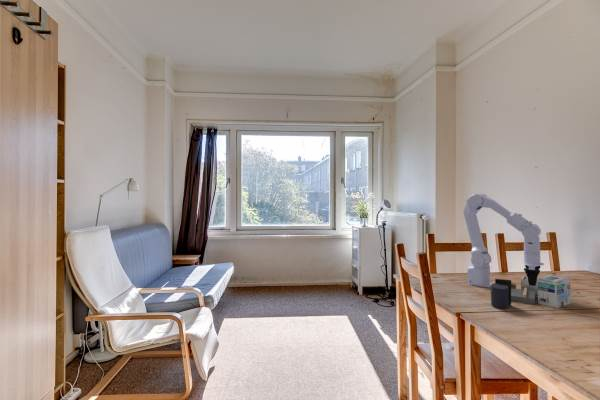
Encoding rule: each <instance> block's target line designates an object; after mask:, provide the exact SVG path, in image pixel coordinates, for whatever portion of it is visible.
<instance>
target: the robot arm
mask: <svg viewBox="0 0 600 400" xmlns="http://www.w3.org/2000/svg"><path fill="white" fill-rule="evenodd" d="M465 201H466V203H465V207H464V210H463V215H464V220H465V224H466V229H467V231H468V236H469V240H470V244H471V252H470V253H471V257H470V263H471V264H472V265H469V266H468V265H467V273H466V274H467V286H476V287H481V288H482V287H484V288H491V285H492V284H493V283H491V266H490V263H491V262H492V256H491V255H490V253H489V251H488V249H487V247H486V246H485V243H484V240H483V237H482V231H481V227H480V224H479V220H478V216H477V214H478V212H479V211H481V210H482V208H488V209H491V210H492V211H494V212H496V213H498V214H499V215H500V216H501V217H503V218H504V219H506V222H507V224H509V225H510V226H511V227H513V228H514V229H516V230H517V231H519V232H520V233H521V234H522V236H523V260H524V261H523V264H524V268H523V270H524V272H525V274H526V277H527V278H528V282H529V285H531V286H536V282H537V279H538V277H539V274H540V272H541V270H540V269H541V266H544V265H545V263H544V262H541V242H540V239H541V238H540V235H541V233H542V229H541V227H539V226H538V225H537V224H534V223H533V221H531V220H530V221H529V220H527V218H525V217H524V216H523V214H522V213H517V212H511V211H509V210H508V209H507V208H505V206H502V205H501V204H500V203H498V201H496V200H495V199H494V198H492V197H490V196H487V194H485V193H473V194H470V195H469V196H468V197H467V198H466V200H465Z"/></svg>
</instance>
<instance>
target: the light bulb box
mask: <svg viewBox="0 0 600 400" xmlns="http://www.w3.org/2000/svg"><path fill="white" fill-rule="evenodd" d="M537 279H538V296H537V300H538V302H537V303H538V304H540V305H544V306H548V307H550V308H555V309H558V308H562V307H566V306H568V305H570V304H572V300H571V297H572V296H571V295H572V291H571V285H572V284H571V277H569V276H568V277H567V276H564V275H563V276H562V275H557V274H548V275H542V276H538V277H537Z"/></svg>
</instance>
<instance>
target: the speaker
mask: <svg viewBox="0 0 600 400" xmlns="http://www.w3.org/2000/svg"><path fill="white" fill-rule="evenodd" d="M511 282H512V280H511V279H502V278H495V280H494V283H491V284H492V285H491V287H490V304H491V306H492V307H493V308H496V309H501V310H504V309H505V310H507V309H508V308H509V306H512V301H511Z"/></svg>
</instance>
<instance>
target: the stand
mask: <svg viewBox="0 0 600 400" xmlns="http://www.w3.org/2000/svg"><path fill="white" fill-rule="evenodd" d="M519 289H520V288H518V289H511V302H516V303H517V302H519V303H525V304H532V305H536V304H535V303H536V301H535V300H536V296H535V292H534V291H527V288H524V290H519Z"/></svg>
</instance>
